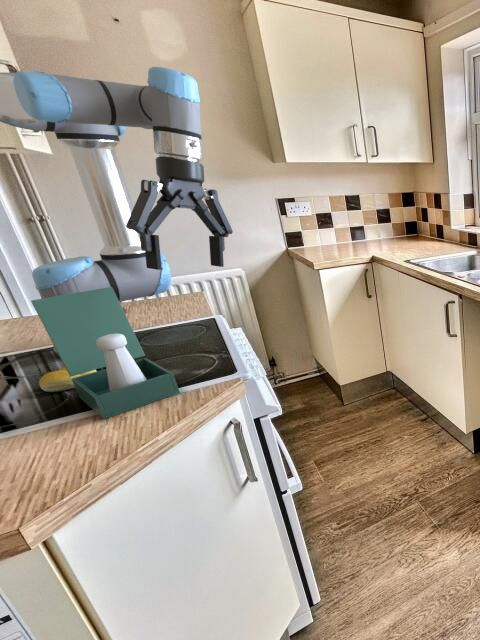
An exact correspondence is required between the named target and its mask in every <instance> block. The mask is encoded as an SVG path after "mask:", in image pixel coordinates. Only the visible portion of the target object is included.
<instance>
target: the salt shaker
mask: <svg viewBox="0 0 480 640" xmlns="http://www.w3.org/2000/svg"><path fill="white" fill-rule="evenodd" d="M96 343H97V346H98V348H99V349H100V350H104V355H105V362H106V367H105V369H107V376H108V383H109V389H110V391H114V390H117V389H120V388H123V387H127V386H130V385H133V384H136V383H139V382H142V381H146V378H145V376H144V375H143V373H142V372H141V370H140V369H139V367H138V366H137V364H136V363H135V361H136V360H135V359H133V358H132V356H131V355H130V353H129V352H128V350H127V349H126V347H125V345H126V344H127V341H126V338H125V336H124V335H122V334H109V335H105V336H102V337H100V338H98V339H97V340H96Z"/></svg>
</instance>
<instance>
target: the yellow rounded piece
mask: <svg viewBox="0 0 480 640" xmlns="http://www.w3.org/2000/svg"><path fill="white" fill-rule="evenodd" d="M97 371H98V370H97V369H96V370H92V371H89V372H85V373H82V374H78V375H75V376H71V377H70V375H69V373H68V372H67V370H66V368H65V366H64V365H63V366H62V367H61V368H60V369H59V370H53V371H49V372H47V373H45V374H44V375H42V376H41V378H40V379H39V382H38V385H39V387H40V389H41V390H42V391H44V392H47V393H57V392H63V391H68V390H73V389H76V388H75V386H74V383H73V381H72V378H76V377H79V376H83V375H86V374H90V373H93V372H97Z"/></svg>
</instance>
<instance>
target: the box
mask: <svg viewBox="0 0 480 640" xmlns="http://www.w3.org/2000/svg"><path fill="white" fill-rule="evenodd" d="M134 361H135V363H136V364H137V366H138V367H139V369H140V370H141V372H142V373H143V375H144V376H145V378H146V381H142V382H139V383H136V384H133V385H130V386H127V387H123V388H120V389H117V390H114V391H110V389H109V383H108V376H107V369H106V368H104V369H99V370H96V371H97V372H93V373H90V374H86V375H83V376H79V377H76V378H72V381H73V383H74V386H75V388H74V389H75V390H76V393H77V394H78V397H79V399H80V400H81V401H82V402H83V403H84V404H86V405H87V406H88V407H89V408H91V410H93V412H95V413H96V414H97V415H98V416H100V417H101V418H102V419H103V420H106V419H109V418H112V417H114V416H117V415H121V414H123V413H126V412H129V411H131V410H135V409H137V408H140V407H143V406H146V405H148V404H152V403H154V402H158V401H160V400H163V399H165V398H166V399H167V398H168V397H171V396H175V395H177V394H180V392H181V391H180V389H179V386H178V382H177V381H176V378H175V375H174V373H173V372H172V371H171V370H168V369H167V368H165V367H163V366H161V365H159V364H157V363H156V362H155V361H153V360H151V359H149V358H147V357H144V358H140V359H139V358H138V359H135V360H134Z"/></svg>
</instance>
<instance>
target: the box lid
mask: <svg viewBox="0 0 480 640" xmlns="http://www.w3.org/2000/svg"><path fill="white" fill-rule="evenodd" d="M30 302H31V304H32V306H33V308H34V309H35V312H36V314H37V315H38V319H40V322H41V323H42V325H43V327H44V330H45V331H46V333H47V335H48V337H49V339H50V341H51V342H52V345H54V346H55V348H56V350H57V352H58V354H59V356H58V357H59V358H60V360H61V362H62V364H63V367H64V366H65V368H66V370H67V372H68V373H69V375H70V377H71V376H75V375H78V374H82V373H85V372H89V371H92V370H96V371H97V370H101V369H103V368H106V362H105V355H104V350H100V349H99V348H98V346H97V343H96V340H97V339H98V338H100V337H102V336H105V335H109V334H122V335H124V336H125V338H126V341H127V344H126V345H125V347H126V349H127V350H128V352H129V353H130V355H131V356H132V358H133V360H137V359H139V358H142V357H145V356H146V354H145V352H144V349H143V348H142V346H141V344H140V342H139V339H138V337H137V336H136V334H135V331H134V329H133V327H132V325H131V322H130V321H129V319H128V317H127V315H126V313H125V310H124V311H123V309H122V307H123V306H122V304H121V302H119V300H118V298H117V296H116V294H115V292H114V290H113V288H112V287H108V288H102V289H96V290H90V291H84V292H78V293H72V294H66V295H61V296H55V297H49V298H43V299H42V298H38V299H32V300H31V301H30Z"/></svg>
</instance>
